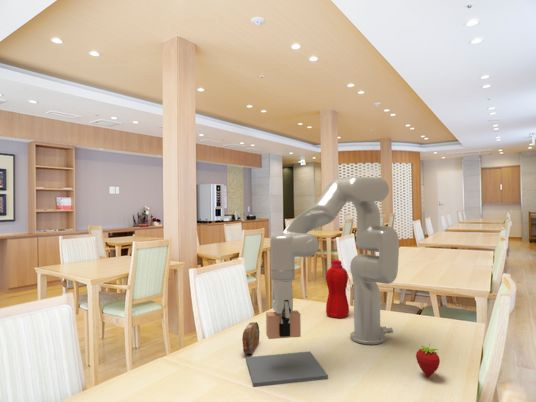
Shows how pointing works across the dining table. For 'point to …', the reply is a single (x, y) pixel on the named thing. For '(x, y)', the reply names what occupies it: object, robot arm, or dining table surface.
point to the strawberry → (428, 360)
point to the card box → (274, 321)
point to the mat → (284, 368)
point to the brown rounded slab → (250, 338)
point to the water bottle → (337, 291)
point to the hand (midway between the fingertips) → (283, 333)
